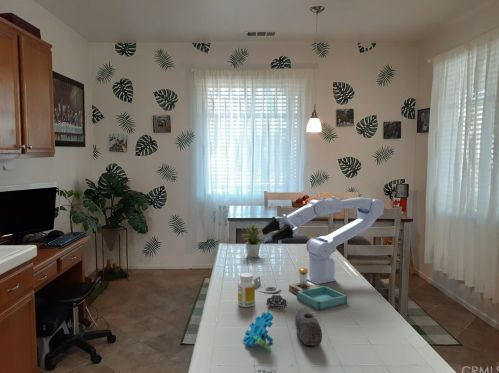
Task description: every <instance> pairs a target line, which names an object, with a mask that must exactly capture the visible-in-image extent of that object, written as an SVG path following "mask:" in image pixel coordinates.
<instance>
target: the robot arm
mask: <svg viewBox="0 0 499 373" xmlns="http://www.w3.org/2000/svg"><path fill="white" fill-rule="evenodd" d="M351 208H356V210H357V211H356V215H357V216H356V217H357V218H356V219H355V220H352V221H351V222H349V223H347V224H345V225H343V226H342V227H340V228H338V229H337V230H335V231H333V232H331V233H329V234H328V235H321V236H318V237H311V238H310V239H309V240H307V242H306V245H305V248H306V251H307V253H308V256H309V259H308V260H309V263H308V266H309V268H308V272H309V273H308V276H307V281H308V282H311V283H313V284H316V285H321V284H325V283H330V282H335V281H336V280H337V279H336V278H335V272H336V270H335V266H336V265H335V260H334V258H333V257H332V254H334V253H335V252H336V251H337V247H338V246H339V245H341V244H343V243H346V241H349V240H351V239H352V238H354V237H355V236H357V235H359V234H361V233H363V232H365V231H367V230H368V229H370V228H371V227H372V225H373V224H374V223H375V222H376V221H377V219H379V217H382V216H383V214H384V210H385V203H384V202H383V200H381V199H379V198H377V199H376V198H371V197H370V198H368V197H366V196H361V197H360V196H357V197H352V198H348V199H347V198H346V199H340V198H339V197H336V196H330V198H324V197H320V199H309V200H308V201H307V202H306V205H304V206H302V207H300V208H298V209H297V210H295V211H293V212H291V213H290V214H288V215H287V214H282V215H281V216H276V217H275V216H272V217H271V218H270V220H269V221H268V223H267V224H266V225H265V226H264V227H263V228H261V229H262V230H261V232H262V236H265V235H268V234H271V233H273V232H275V233H273V234H272V235H271V239H272V242H273V243H274V242H277V241H281V240H287V239H289V240H290V239H291V240H292V239H293V238H294V235H297V234H299V233H300V230H299V227H301V226H303V225H305V224H306V223H308V222H310V221H311V220H313V219H315V218H316V217H318V216H319V217H320V216H321V217H324V216H326V215H327V214H329V215H330V214H335V213H340V212H341V211H342V209H351Z"/></svg>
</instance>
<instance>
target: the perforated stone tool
mask: <svg viewBox="0 0 499 373" xmlns="http://www.w3.org/2000/svg"><path fill="white" fill-rule="evenodd" d="M294 316H295V317H294V318H295V319H294V323H295V328H296V331H297V332H298V335H299V337H300V339H301V341H302V342H303V343H304V345H306V346H314V347H317V346H319V345H321V343H322V342H323V341H322V340H323V332H322V328H321V326H320V323H319V320H318V319H317V317H316V316H315V315H314V314H313V313H312V312H311V311H310V310H308V309H306V308H303V307H301V308H299V309H297V311H296V313H295V315H294Z"/></svg>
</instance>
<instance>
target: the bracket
mask: <svg viewBox="0 0 499 373" xmlns="http://www.w3.org/2000/svg"><path fill="white" fill-rule="evenodd" d="M252 281H254V283H255V288H257V287H259V286H261V276H258V277H256V278H254V279H252ZM255 291H256V292H260V293H264V294H275V293H278V292H280V291H281V289H280V287H277V286H273V285H272V286H271V285H263V286H262V287H259V289H256V290H255Z"/></svg>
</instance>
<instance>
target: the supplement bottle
mask: <svg viewBox="0 0 499 373" xmlns="http://www.w3.org/2000/svg"><path fill="white" fill-rule="evenodd" d="M253 276H254V275H253V274H252V273H247V272H244V273H243V272H242V273H241V274H240V277H239V279H240V280H239V281H238V283H237V294H238V295H237V304H238V306H240V307H243V308H249V307H250V308H251V307H253V306H254V305H255V304H256V299H255V298H256V296H255V294H256V293H255V291H256V290H255V289H256V287H255V283H254V281H252V280H254V279H253Z"/></svg>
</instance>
